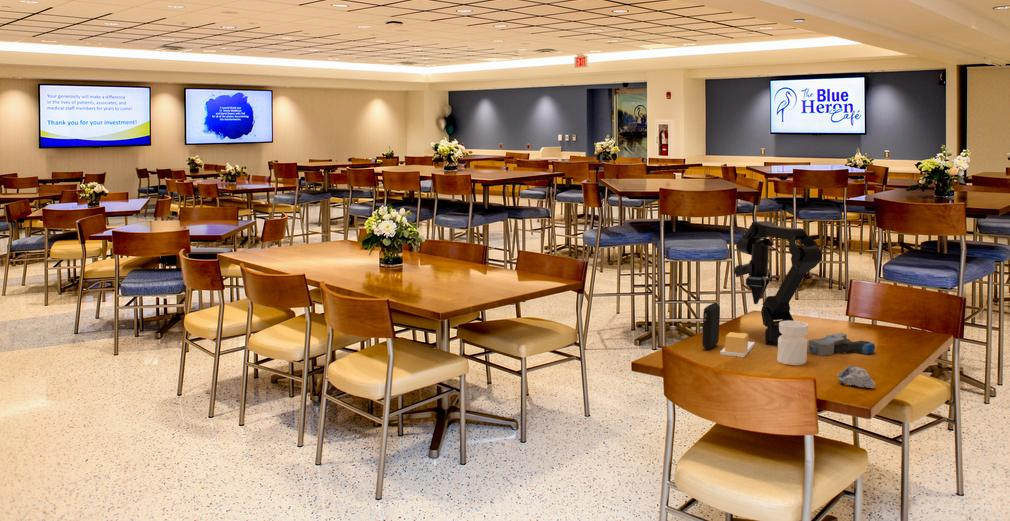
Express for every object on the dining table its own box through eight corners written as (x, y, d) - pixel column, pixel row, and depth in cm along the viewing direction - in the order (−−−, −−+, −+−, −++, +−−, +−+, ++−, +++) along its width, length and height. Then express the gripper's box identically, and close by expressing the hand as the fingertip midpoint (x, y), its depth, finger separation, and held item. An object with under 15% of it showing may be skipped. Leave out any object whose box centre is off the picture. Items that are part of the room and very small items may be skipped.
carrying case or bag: (708, 352, 278) (709, 307, 276) (699, 350, 280) (700, 306, 278) (719, 345, 287) (721, 302, 285) (711, 343, 289) (712, 301, 286)
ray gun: (879, 340, 277) (837, 332, 289) (847, 350, 266) (804, 340, 277) (878, 353, 278) (836, 344, 289) (846, 363, 266) (803, 353, 278)
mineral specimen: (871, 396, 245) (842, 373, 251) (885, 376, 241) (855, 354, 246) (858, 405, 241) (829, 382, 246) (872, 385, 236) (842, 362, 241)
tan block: (747, 349, 278) (748, 334, 277) (743, 353, 273) (744, 338, 272) (729, 346, 281) (729, 332, 280) (724, 351, 276) (725, 336, 275)
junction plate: (754, 345, 287) (755, 332, 286) (743, 357, 272) (744, 343, 271) (732, 342, 290) (732, 329, 290) (720, 354, 275) (720, 341, 275)
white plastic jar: (786, 365, 263) (788, 327, 261) (771, 358, 271) (773, 321, 269) (811, 364, 264) (814, 326, 262) (797, 356, 273) (799, 320, 271)
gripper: (740, 251, 307) (738, 294, 310) (731, 259, 290) (729, 304, 293) (772, 253, 302) (770, 296, 305) (765, 262, 286) (763, 307, 288)
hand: (757, 301), depth 298 cm, fingers open, 9 cm apart
